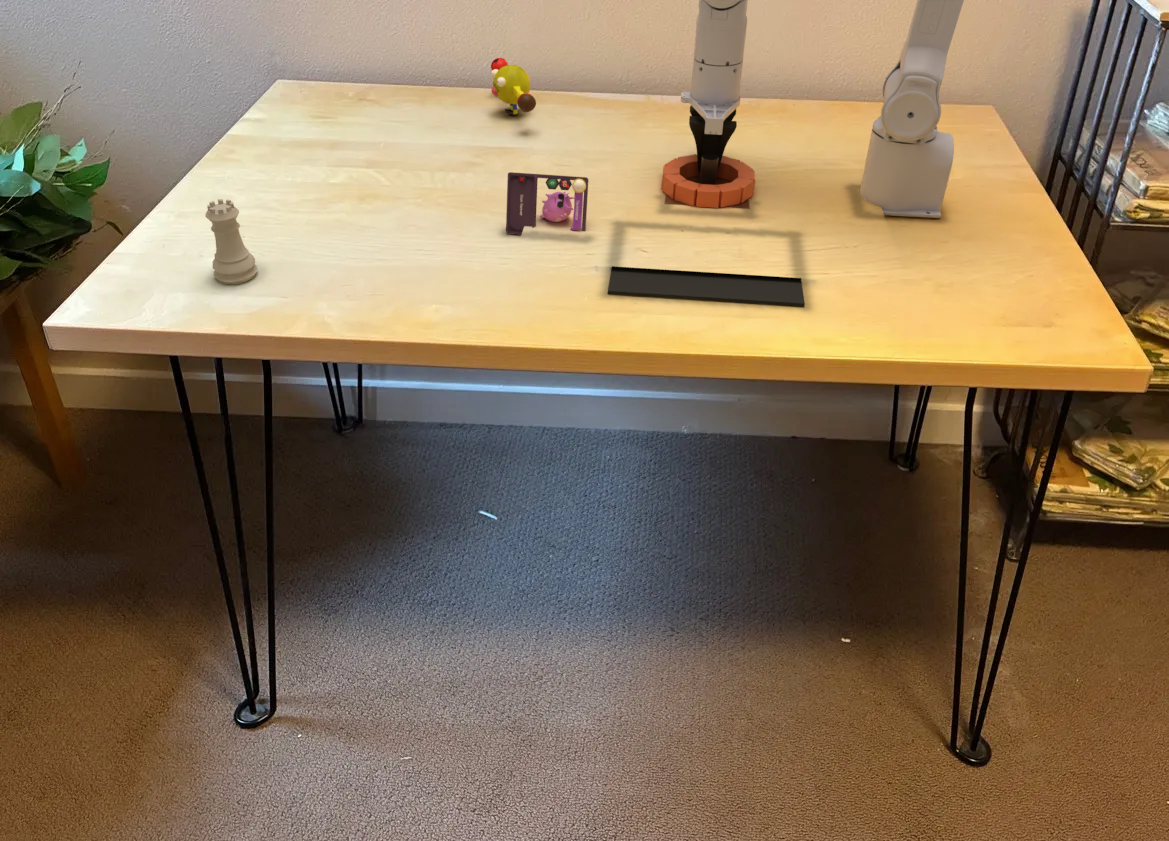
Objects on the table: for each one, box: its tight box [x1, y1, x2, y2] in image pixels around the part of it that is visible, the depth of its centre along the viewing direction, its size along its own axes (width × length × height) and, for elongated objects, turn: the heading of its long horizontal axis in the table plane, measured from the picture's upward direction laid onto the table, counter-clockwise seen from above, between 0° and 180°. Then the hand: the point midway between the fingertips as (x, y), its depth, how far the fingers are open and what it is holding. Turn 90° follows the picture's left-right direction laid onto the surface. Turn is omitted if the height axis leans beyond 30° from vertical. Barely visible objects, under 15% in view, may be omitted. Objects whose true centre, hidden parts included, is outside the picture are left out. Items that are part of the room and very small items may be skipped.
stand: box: [664, 154, 751, 210], centre depth 118 cm, size 10×10×5 cm
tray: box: [607, 265, 806, 308], centre depth 106 cm, size 20×16×1 cm
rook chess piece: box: [205, 198, 258, 285], centre depth 100 cm, size 4×4×8 cm
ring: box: [661, 153, 756, 209], centre depth 118 cm, size 11×11×2 cm
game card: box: [505, 171, 589, 235], centre depth 111 cm, size 7×5×9 cm
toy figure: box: [490, 57, 537, 117], centre depth 138 cm, size 18×6×7 cm, turn 17°
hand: (707, 169), depth 122 cm, fingers closed on ring, 2 cm apart
